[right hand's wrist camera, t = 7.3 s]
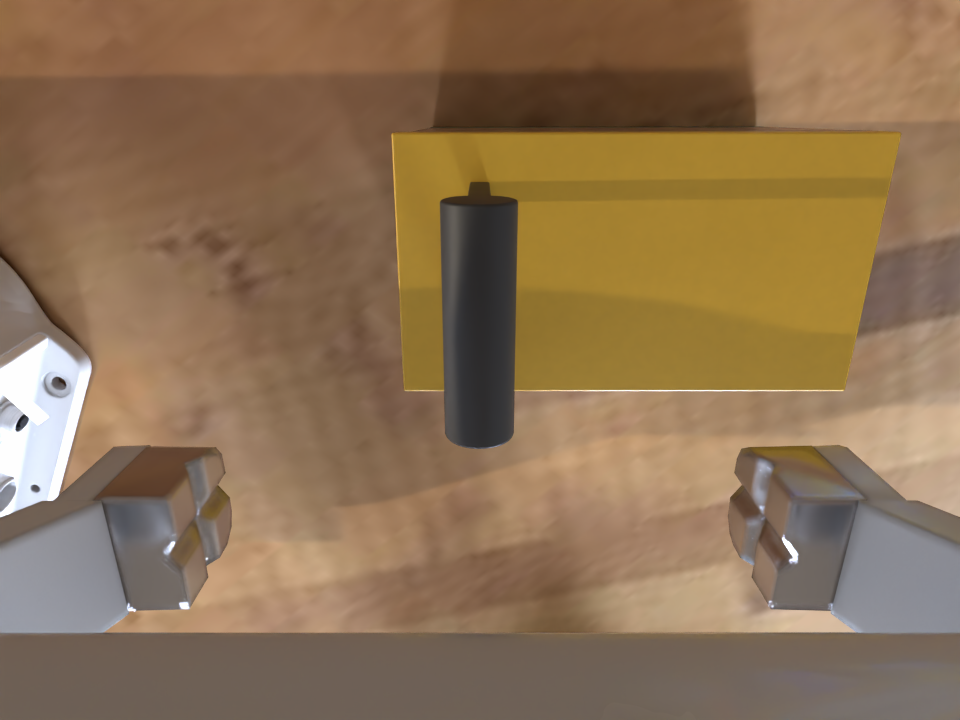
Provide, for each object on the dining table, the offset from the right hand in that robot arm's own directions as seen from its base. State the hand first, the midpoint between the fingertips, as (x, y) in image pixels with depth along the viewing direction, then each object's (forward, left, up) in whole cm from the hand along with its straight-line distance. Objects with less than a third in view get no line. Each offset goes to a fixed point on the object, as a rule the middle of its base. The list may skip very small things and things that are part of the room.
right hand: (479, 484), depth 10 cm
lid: (+1, -6, -16) cm, 17 cm away
